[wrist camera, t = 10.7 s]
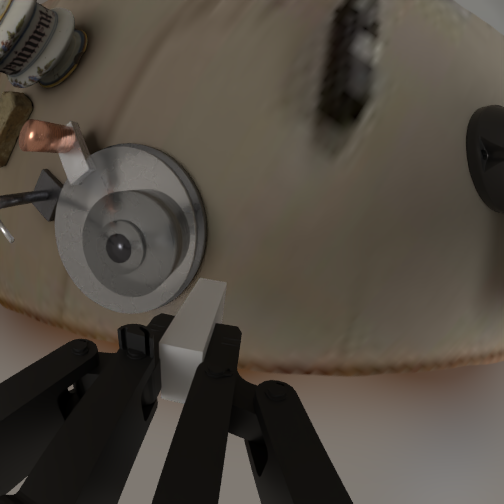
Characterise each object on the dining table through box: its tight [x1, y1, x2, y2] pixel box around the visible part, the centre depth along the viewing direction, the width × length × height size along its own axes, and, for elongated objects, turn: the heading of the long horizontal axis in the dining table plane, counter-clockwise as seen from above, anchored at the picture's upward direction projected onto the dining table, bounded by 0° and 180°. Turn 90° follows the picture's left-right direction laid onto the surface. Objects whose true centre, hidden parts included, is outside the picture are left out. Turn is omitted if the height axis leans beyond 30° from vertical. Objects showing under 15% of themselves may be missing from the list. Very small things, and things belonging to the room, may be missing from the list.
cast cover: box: [82, 189, 190, 297], centre depth 23 cm, size 9×9×6 cm
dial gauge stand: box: [0, 169, 63, 243], centre depth 21 cm, size 8×5×16 cm, turn 51°
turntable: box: [19, 119, 198, 314], centre depth 22 cm, size 18×22×9 cm
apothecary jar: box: [0, 0, 87, 88], centre depth 14 cm, size 12×12×18 cm
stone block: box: [0, 91, 33, 167], centre depth 24 cm, size 6×12×5 cm, turn 138°
